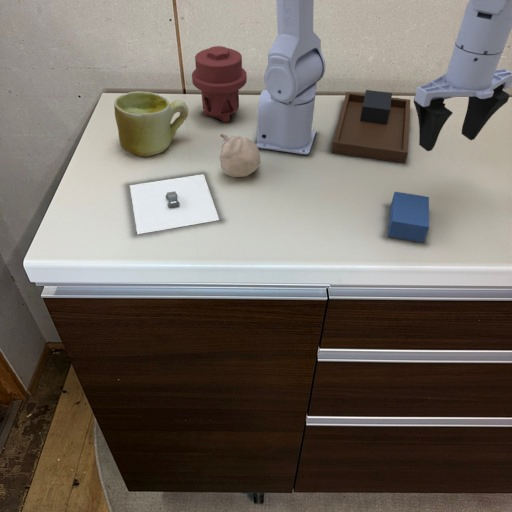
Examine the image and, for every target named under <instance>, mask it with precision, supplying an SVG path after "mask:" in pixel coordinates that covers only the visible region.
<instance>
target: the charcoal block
mask: <svg viewBox="0 0 512 512" xmlns="http://www.w3.org/2000/svg"><path fill="white" fill-rule="evenodd" d="M364 94H365V98H364V103H363V108H362V113H361V119H360V121H364V122H371V123H379V124H386V125H387V122H388V117H389V113H390V107H391V98H393V93H392V92H386V91H379V90H369V89H365V93H364Z"/></svg>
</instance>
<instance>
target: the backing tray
mask: <svg viewBox="0 0 512 512" xmlns="http://www.w3.org/2000/svg"><path fill="white" fill-rule="evenodd" d="M364 98H365V93H358V92H350V91H346V92H345V95H344V99H343V102H342V107H341V109H340V114H339V117H338V121H337V126H336V129H335V133H334V137H333V140H332V147H331V153H333V154H339V155H346V156H354V157H359V158H368V159H375V160H380V161H387V162H395V163H400V164H401V163H402V164H405V163H406V160H407V157H408V153H409V135H410V117H411V116H410V115H411V99H409V98H400V97H392V98H391V107H390V113H389V117H388V122H387V125H386V124H379V123H371V122H364V121H360V119H361V113H362V108H363V103H364Z"/></svg>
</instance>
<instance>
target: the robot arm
mask: <svg viewBox="0 0 512 512" xmlns="http://www.w3.org/2000/svg"><path fill="white" fill-rule="evenodd" d="M314 6H315V5H314V0H276V23H277V24H276V25H277V35H276V37H275V40H274V41H273V43H272V45H271V47H270V49H269V50H268V53H267V66H266V68H265V71H264V74H263V75H264V76H263V81H264V86H265V89H263V90H262V91H261V93H260V95H259V99H258V105H257V116H256V117H257V118H256V119H257V121H256V122H257V125H256V128H257V129H256V131H257V132H256V143H255V144H256V146H257V147H258V149H263V150H269V151H271V150H272V151H279V152H285V153H292V154H298V155H299V154H300V155H304V156H308V155H309V154H310V152H311V149H312V146H313V143H314V140H315V136H316V133H317V131H316V130H315V129H313V123H314V112H315V104H316V103H315V101H316V90H317V83H318V82H319V81H321V80H322V79H323V78H324V75H325V74H326V73H325V72H326V60H325V58H324V55H323V51H322V46H321V45H322V40H321V38H320V37H319V36H318V35H317V34H316V32H315V31H314ZM511 31H512V0H468V1H467V3H466V6H465V9H464V13H463V16H462V18H461V23H460V25H459V29H458V31H457V32H458V33H457V36H456V39H455V42H454V45H453V49H452V52H451V55H450V59H449V62H448V66H447V69H446V72H445V74H442V75H441V76H439V77H437V78H435V79H433V80H431V81H430V82H428V83H425V84H423V85H418V86H417V88H416V92H415V95H414V98H413V104H414V107H415V110H416V114H417V119H418V128H419V129H418V130H419V136H418V137H419V138H418V144H419V145H418V146H420V147H421V148H423V149H424V150H425V151H426V152H431V151H432V150H433V149H434V147H435V146H436V143H437V141H438V138H439V136H440V133H441V131H442V129H443V128H444V126H445V124H446V122H447V121H448V120H449V118H450V117H452V115H453V113H454V112H453V111H451V110H450V109H448V108H447V107H446V103H445V100H449V99H453V98H465V97H467V98H468V102H467V108H466V113H465V116H464V120H463V123H462V126H461V133H460V134H461V135H463V137H465V138H467V139H468V140H470V141H473V140H475V139H476V137H477V136H478V135H479V134H480V132H481V131H482V129H483V128H484V127H485V126H486V124H487V123H488V121H489V120H490V119H491V118H492V117H493V115H495V114H496V112H497V111H498V110H499V109H501V108H502V107H503V106H504V105H506V104H507V103H508V101H509V99H510V96H511V95H510V94H509V93H508V92H507V91H505V90H507V89H510V88H511V86H512V71H510V70H508V69H506V68H501V69H497V68H498V66H499V63H500V60H501V58H502V54H503V52H504V50H505V48H506V44H507V42H508V39H509V36H510V33H511Z"/></svg>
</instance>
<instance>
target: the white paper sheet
mask: <svg viewBox="0 0 512 512" xmlns="http://www.w3.org/2000/svg"><path fill="white" fill-rule="evenodd" d="M129 189H130V196H131V203H132V209H133V216H134V222H135V229H136V235H141V234H148V233H153V232H159V231H165V230H169V229H170V230H171V229H175V228H183V227H187V226H193V225H199V224H204V223H210V222H216V221H220V218H219V215H218V212H217V209H216V206H215V203H214V199H213V197H212V194H211V192H210V189H209V185H208V183H207V180H206V177H205V174H195V175H189V176H182V177H177V178H169V179H163V180H157V181H150V182H149V181H148V182H144V183H137V184H131V185H129Z"/></svg>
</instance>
